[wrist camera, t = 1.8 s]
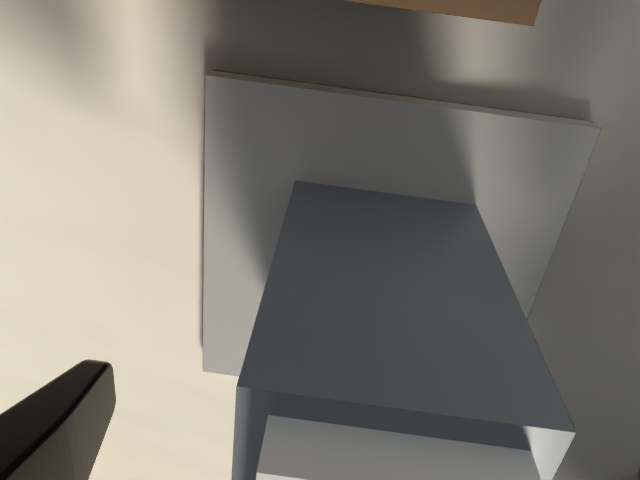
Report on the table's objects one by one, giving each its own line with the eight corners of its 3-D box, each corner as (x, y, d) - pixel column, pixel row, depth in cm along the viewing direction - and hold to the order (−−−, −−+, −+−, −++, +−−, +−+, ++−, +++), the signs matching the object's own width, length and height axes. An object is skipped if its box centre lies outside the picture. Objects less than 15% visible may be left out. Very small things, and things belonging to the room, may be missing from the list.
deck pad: (487, 397, 15) (491, 411, 15) (207, 358, 15) (202, 371, 15) (591, 121, 11) (601, 129, 11) (211, 70, 11) (205, 75, 11)
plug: (435, 345, 14) (495, 673, 7) (280, 323, 14) (213, 634, 7) (476, 204, 12) (603, 494, 5) (295, 180, 12) (220, 442, 5)
